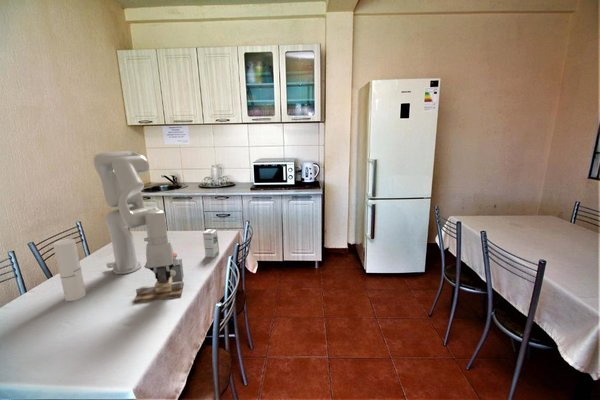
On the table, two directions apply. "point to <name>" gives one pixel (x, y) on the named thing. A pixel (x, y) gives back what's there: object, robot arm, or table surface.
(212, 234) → the syrup box
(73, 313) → the table surface
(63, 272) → the cylindrical container
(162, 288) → the carriage
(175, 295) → the slide rail
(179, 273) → the gauge cabinet
